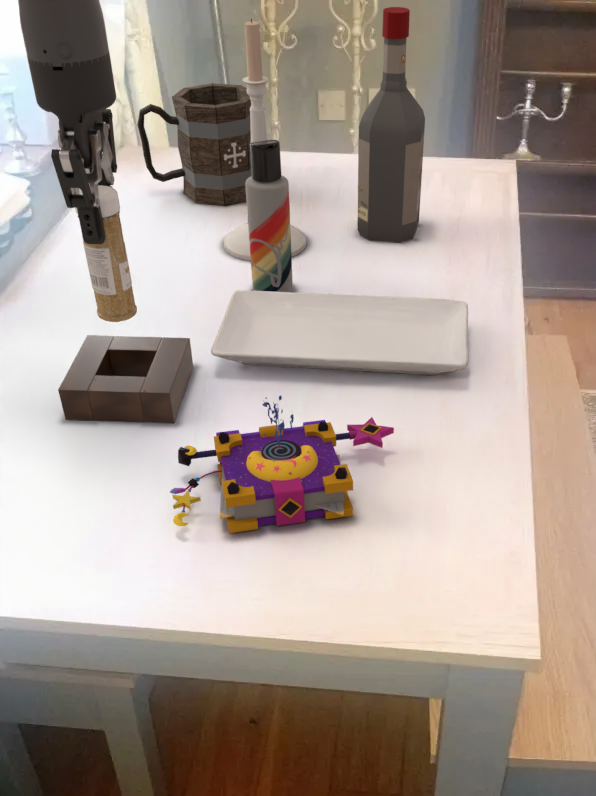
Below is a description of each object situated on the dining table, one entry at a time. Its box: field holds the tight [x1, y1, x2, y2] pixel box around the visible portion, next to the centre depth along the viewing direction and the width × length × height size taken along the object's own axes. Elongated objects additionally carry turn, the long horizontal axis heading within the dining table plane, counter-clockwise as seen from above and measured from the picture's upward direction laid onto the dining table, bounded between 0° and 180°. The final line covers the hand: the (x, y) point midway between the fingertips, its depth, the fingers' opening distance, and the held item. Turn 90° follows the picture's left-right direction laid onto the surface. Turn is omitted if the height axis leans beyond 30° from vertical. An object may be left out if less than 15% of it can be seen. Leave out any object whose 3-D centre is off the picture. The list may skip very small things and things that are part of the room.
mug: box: [136, 82, 252, 207], centre depth 150 cm, size 20×14×15 cm
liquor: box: [356, 6, 426, 244], centre depth 132 cm, size 9×9×30 cm
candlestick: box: [223, 18, 307, 262], centre depth 129 cm, size 13×13×30 cm
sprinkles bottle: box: [74, 185, 138, 323], centre depth 97 cm, size 5×5×14 cm
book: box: [169, 395, 395, 534], centre depth 90 cm, size 15×25×12 cm, turn 102°
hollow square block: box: [57, 334, 194, 424], centre depth 107 cm, size 13×13×4 cm
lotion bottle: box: [245, 139, 294, 292], centre depth 121 cm, size 6×6×20 cm
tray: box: [210, 289, 469, 376], centre depth 115 cm, size 17×32×4 cm, turn 84°
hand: (101, 231), depth 95 cm, fingers closed on sprinkles bottle, 4 cm apart
